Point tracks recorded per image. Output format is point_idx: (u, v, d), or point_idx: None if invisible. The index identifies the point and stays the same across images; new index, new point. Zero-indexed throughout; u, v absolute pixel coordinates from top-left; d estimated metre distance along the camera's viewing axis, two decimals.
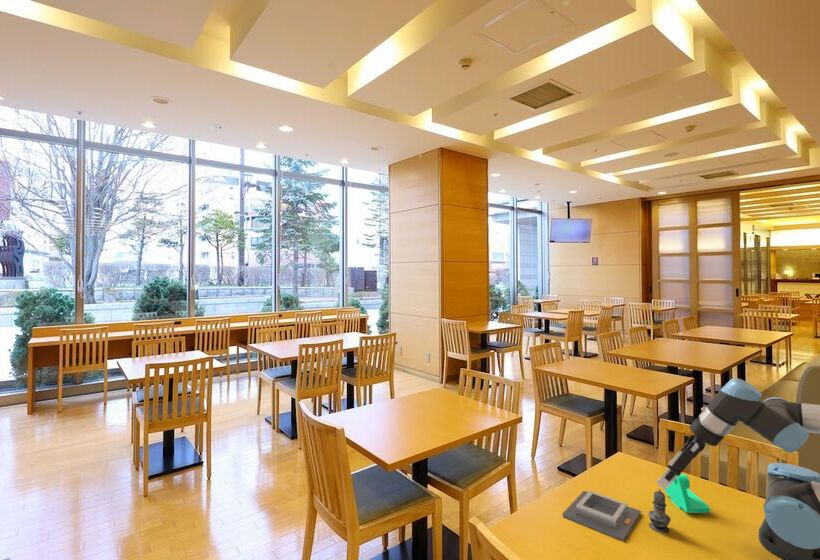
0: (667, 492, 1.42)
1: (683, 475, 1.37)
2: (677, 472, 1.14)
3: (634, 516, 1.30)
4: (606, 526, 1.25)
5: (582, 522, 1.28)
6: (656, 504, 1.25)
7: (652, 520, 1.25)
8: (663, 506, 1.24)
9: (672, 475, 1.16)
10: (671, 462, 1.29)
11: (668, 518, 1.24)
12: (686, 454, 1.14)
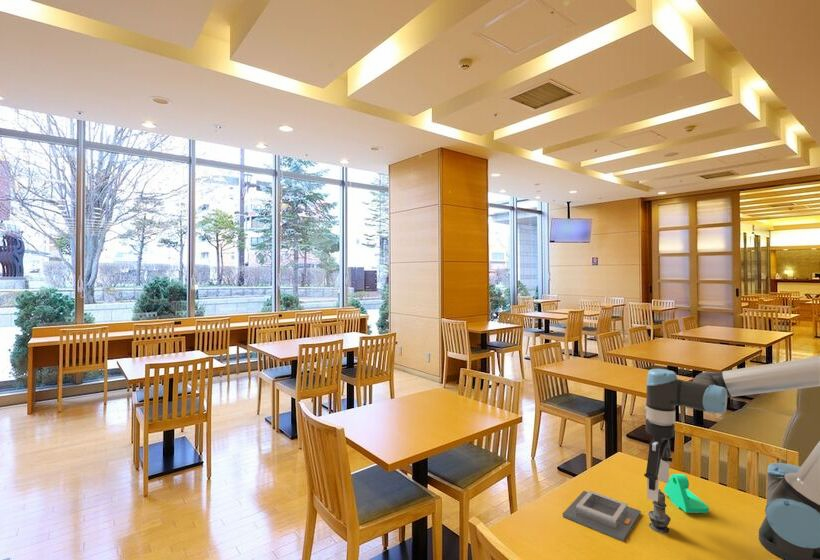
0: (666, 492, 1.42)
1: (682, 475, 1.37)
2: (652, 476, 1.18)
3: (634, 516, 1.30)
4: (606, 526, 1.25)
5: (582, 522, 1.28)
6: (656, 504, 1.25)
7: (652, 520, 1.25)
8: (663, 506, 1.24)
9: (652, 482, 1.19)
10: (659, 474, 1.31)
11: (668, 518, 1.24)
12: (651, 456, 1.20)
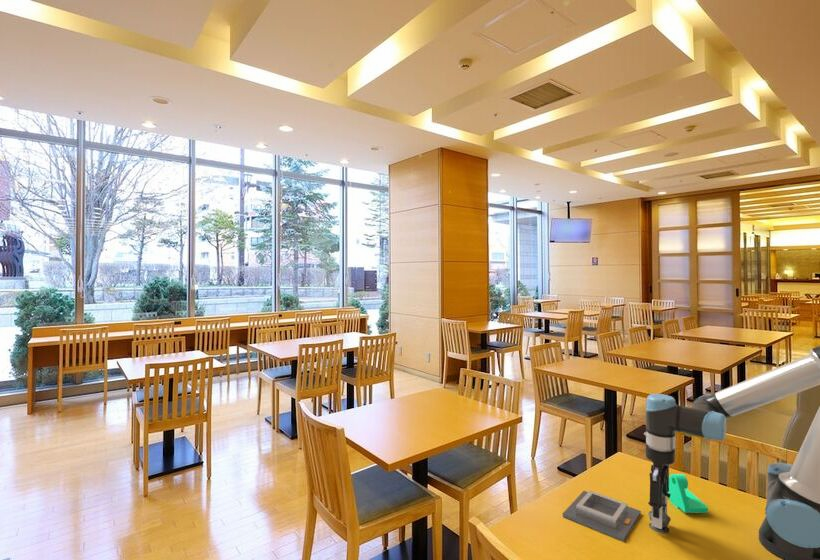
0: None
1: (681, 475, 1.37)
2: (656, 505, 1.20)
3: (634, 516, 1.30)
4: (606, 526, 1.25)
5: (582, 522, 1.28)
6: None
7: None
8: (663, 506, 1.24)
9: (656, 510, 1.22)
10: None
11: (668, 518, 1.24)
12: (652, 486, 1.21)
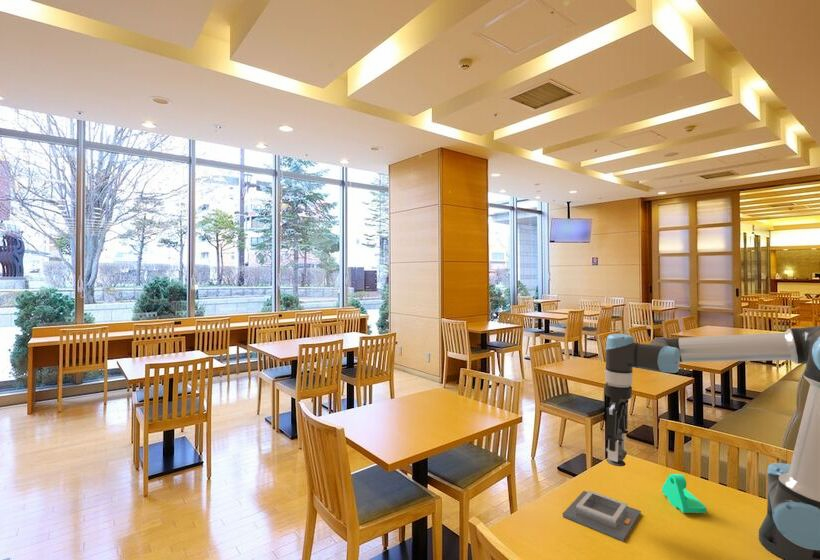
0: (664, 492, 1.42)
1: (680, 475, 1.37)
2: (612, 438, 1.25)
3: (634, 516, 1.30)
4: (606, 526, 1.25)
5: (582, 522, 1.28)
6: None
7: None
8: (620, 440, 1.29)
9: (612, 444, 1.26)
10: None
11: (624, 452, 1.29)
12: (609, 420, 1.25)
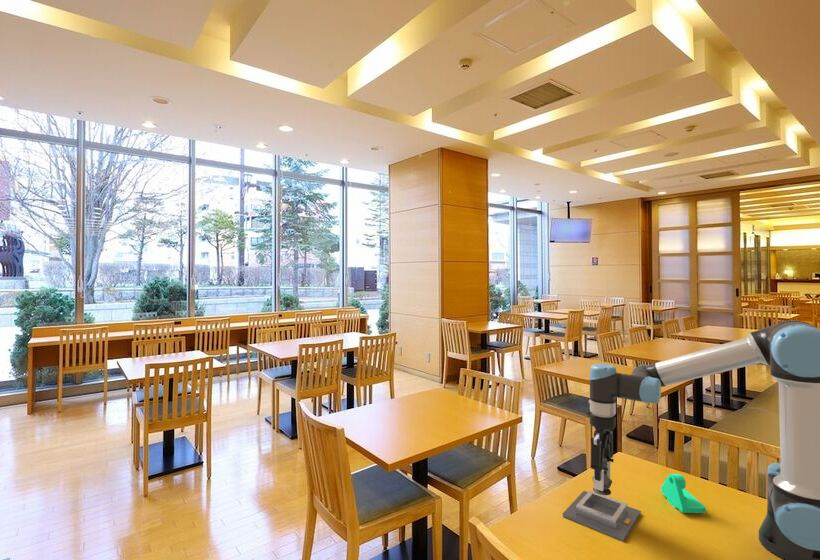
0: (663, 492, 1.42)
1: (679, 475, 1.37)
2: (597, 468, 1.27)
3: (634, 516, 1.30)
4: (606, 526, 1.25)
5: (582, 522, 1.28)
6: None
7: None
8: (605, 469, 1.30)
9: (598, 473, 1.28)
10: None
11: (610, 481, 1.31)
12: (593, 450, 1.27)
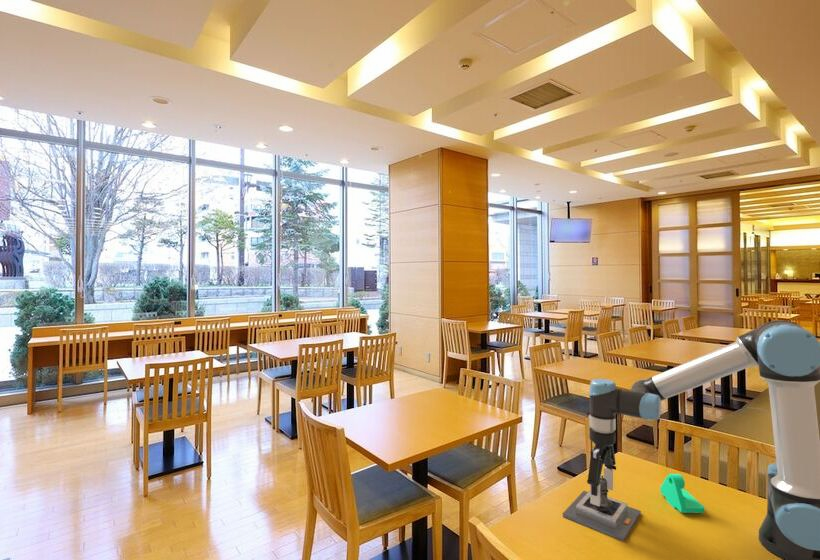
0: (662, 492, 1.43)
1: (678, 475, 1.37)
2: (593, 483, 1.25)
3: (634, 516, 1.30)
4: (606, 526, 1.25)
5: (582, 522, 1.28)
6: None
7: (595, 505, 1.32)
8: (605, 491, 1.31)
9: (594, 488, 1.26)
10: None
11: (610, 503, 1.31)
12: (592, 463, 1.27)
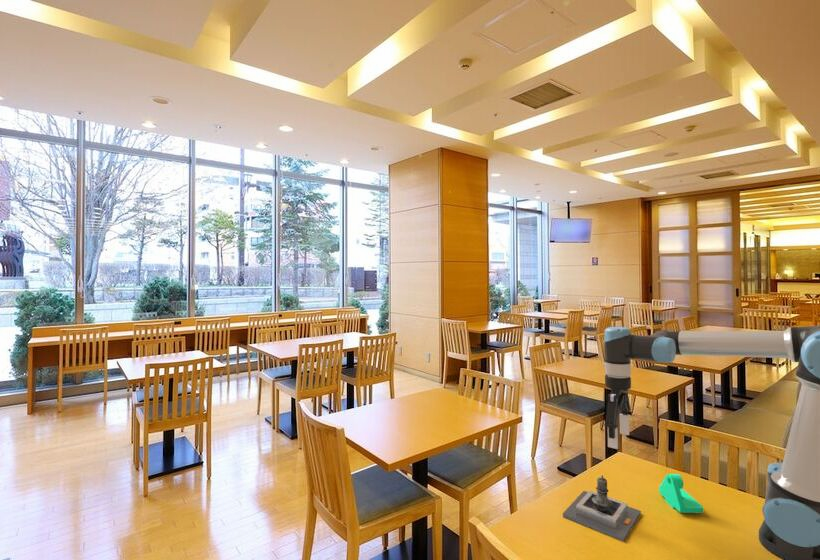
0: (661, 492, 1.43)
1: (677, 475, 1.37)
2: (611, 425, 1.26)
3: (634, 516, 1.30)
4: (606, 526, 1.25)
5: (582, 522, 1.28)
6: (599, 489, 1.31)
7: (595, 505, 1.32)
8: (605, 491, 1.31)
9: (612, 431, 1.27)
10: (620, 427, 1.39)
11: (610, 503, 1.31)
12: (609, 406, 1.28)
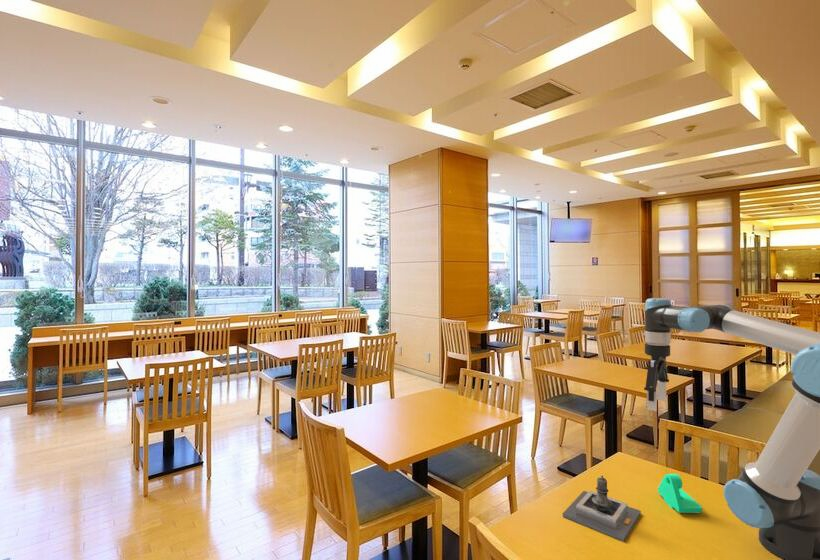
0: (660, 492, 1.43)
1: (676, 475, 1.37)
2: (651, 388, 1.34)
3: (634, 516, 1.30)
4: (606, 526, 1.25)
5: (582, 522, 1.28)
6: (598, 489, 1.31)
7: (595, 505, 1.32)
8: (605, 491, 1.31)
9: (651, 394, 1.36)
10: (658, 394, 1.47)
11: (610, 503, 1.31)
12: (650, 371, 1.36)
